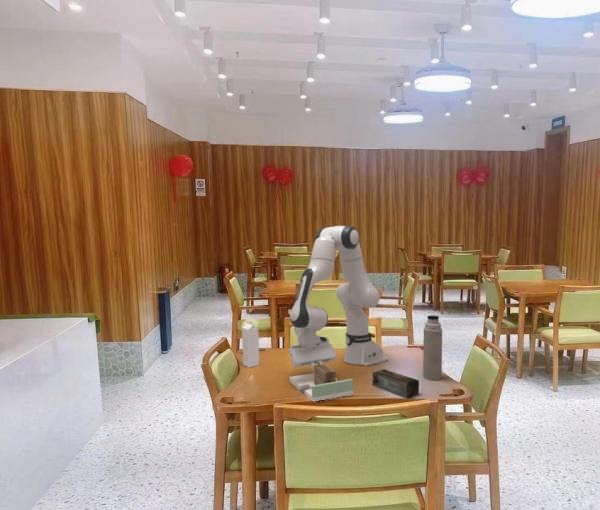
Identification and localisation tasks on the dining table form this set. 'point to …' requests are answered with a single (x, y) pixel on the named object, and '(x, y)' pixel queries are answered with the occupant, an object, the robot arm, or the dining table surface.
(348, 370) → the dining table surface
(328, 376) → the walnut block
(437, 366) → the thermos bottle
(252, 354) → the milk
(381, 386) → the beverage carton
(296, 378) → the grey tray
